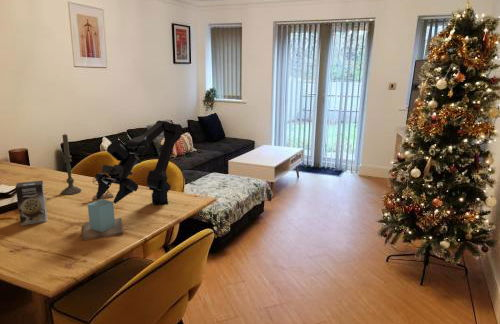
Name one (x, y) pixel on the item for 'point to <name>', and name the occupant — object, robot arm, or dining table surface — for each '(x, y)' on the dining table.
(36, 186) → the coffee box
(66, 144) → the candlestick holder
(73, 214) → the dining table surface
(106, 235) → the post board
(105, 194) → the brown scrollwork stand
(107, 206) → the light blue rectangular block
